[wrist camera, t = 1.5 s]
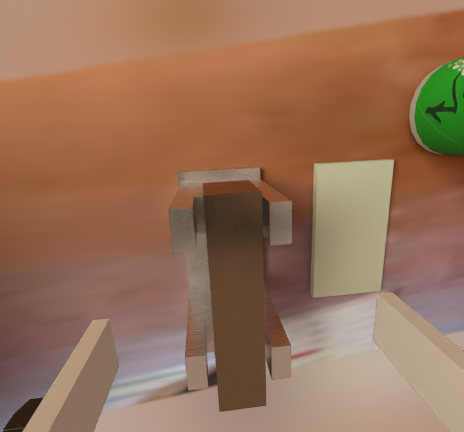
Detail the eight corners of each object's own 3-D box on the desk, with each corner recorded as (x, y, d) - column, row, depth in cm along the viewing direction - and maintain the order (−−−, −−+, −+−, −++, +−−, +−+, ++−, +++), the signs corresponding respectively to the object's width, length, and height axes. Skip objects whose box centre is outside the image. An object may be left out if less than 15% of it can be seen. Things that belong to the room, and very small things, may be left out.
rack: (190, 305, 28) (184, 401, 17) (177, 171, 24) (160, 194, 14) (261, 298, 28) (295, 387, 18) (258, 166, 25) (297, 185, 15)
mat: (310, 293, 29) (313, 297, 28) (314, 163, 25) (317, 164, 24) (375, 287, 29) (380, 291, 28) (388, 159, 26) (394, 159, 25)
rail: (254, 356, 21) (266, 405, 17) (216, 360, 21) (219, 411, 17) (248, 180, 17) (261, 191, 13) (202, 183, 17) (203, 195, 13)
